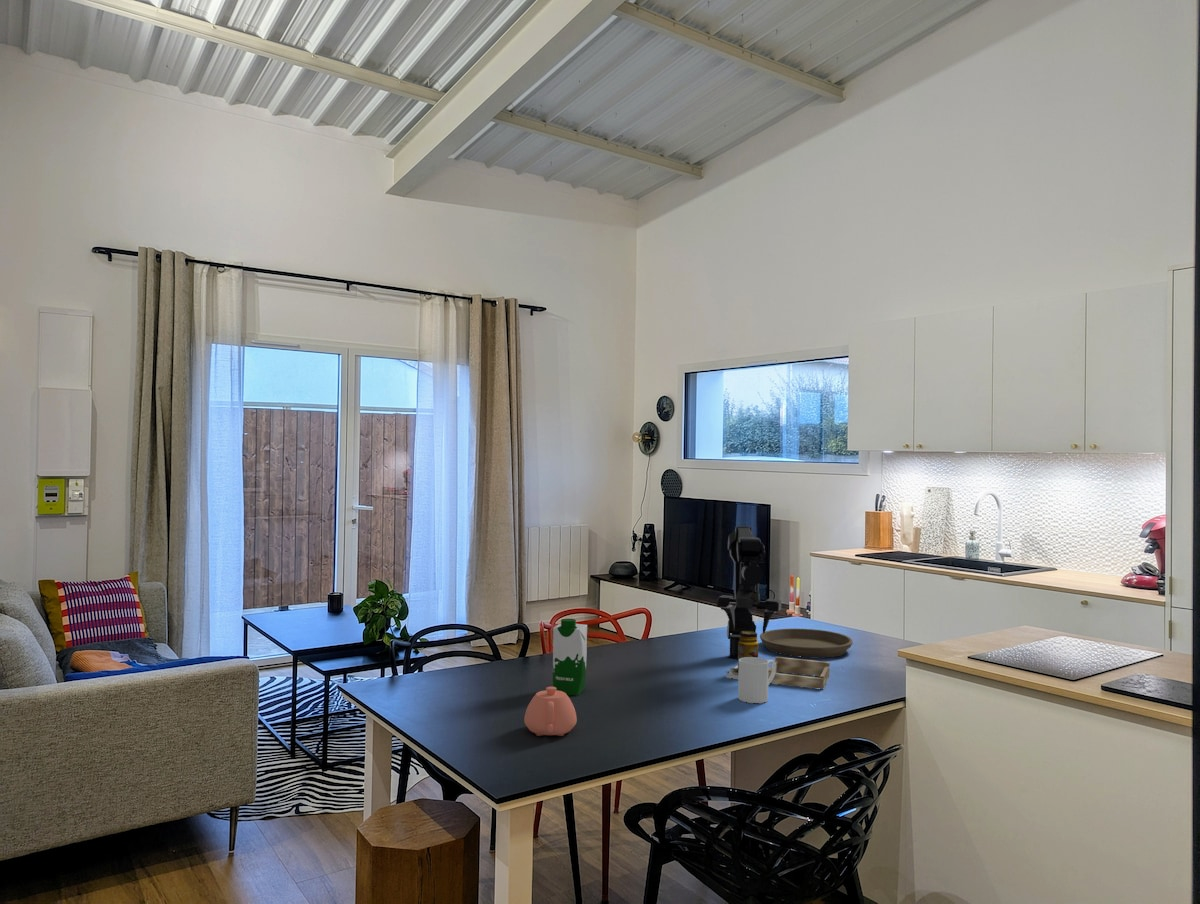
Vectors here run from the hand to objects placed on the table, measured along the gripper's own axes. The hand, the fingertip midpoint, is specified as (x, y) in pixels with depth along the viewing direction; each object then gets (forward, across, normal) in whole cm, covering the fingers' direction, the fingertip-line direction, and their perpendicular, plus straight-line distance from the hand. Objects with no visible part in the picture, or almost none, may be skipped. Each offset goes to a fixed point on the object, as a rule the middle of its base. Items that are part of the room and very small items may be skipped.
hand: (748, 631), depth 246 cm
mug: (+13, +8, -24) cm, 28 cm away
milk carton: (+13, -41, -40) cm, 59 cm away
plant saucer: (+13, +11, +43) cm, 46 cm away
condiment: (+12, -1, 0) cm, 13 cm away
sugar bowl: (+13, -31, -73) cm, 80 cm away
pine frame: (+13, +15, 0) cm, 20 cm away
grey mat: (+13, 0, 0) cm, 13 cm away
